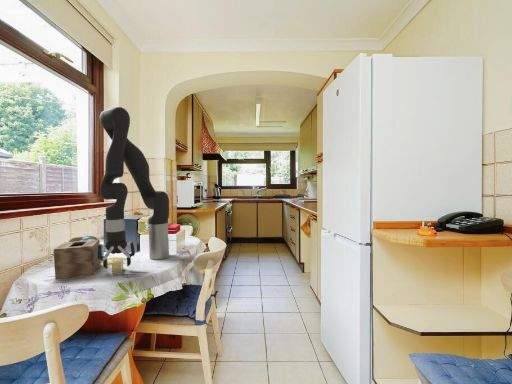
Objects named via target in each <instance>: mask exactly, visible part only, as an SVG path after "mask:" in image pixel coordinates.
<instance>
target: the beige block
mask: <svg viewBox="0 0 512 384" xmlns="http://www.w3.org/2000/svg"><path fill="white" fill-rule="evenodd" d="M123 270H124V257H119V258H113V259H112V262H111V275H112V274H115V275H122V274H123ZM121 273H122V274H121Z"/></svg>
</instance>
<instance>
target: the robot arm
mask: <svg viewBox="0 0 512 384" xmlns="http://www.w3.org/2000/svg"><path fill="white" fill-rule="evenodd" d="M99 121H100V124H101V126H102V128H103V130H104V131H105V133H106V134H107V135H108V136H109V138H110V139H111V143H110V145H109V147H108V150H107V152H106V156H105V166H104V167H105V169H104V175H103V177H102V181H101V184H100V187H99V194H100V196H101V198H102V199H103V200H110V201H111V200H116V201H115V202H114V204H110V205H107V206H106V207H105V229H104V230H105V240H106V241H105V242H106V243H105V244H102V243H100V244H99V245H98V259H101V260H102V266H103V268H104V269H105V270H107V269H108V267H109V264H108V259H107V258H108V257H109V256H110V254H112V255H115V254H121V253H122V254H123V255H125V257H126V266H127V267H129V266H130V265H131V263H132V259H131V257H134V256H135V255H136V250H135V249H136V248H135V241H132V240H131V241H129V242H127V237H126V233H127V232H126V222H125V206H126V201H127V197H128V194H129V191H128V187H127V185H126V184H125V183H123V182H114V181H115V180H116V179H118V178H122V177H123V176H124V173H125V172H124V169H125V166H126V168H127V170H128V172H129V174H130V175H131V177H132V179H133V181H134V183H135V184H136V187H137V189H138V191H139V193H140V196H141V200H143V201H142V202H143V203H144V205H145V207H146V208H148V209H149V210H152V211H153V212H152V213H153V214H152V215H151V216H150V217H149V218H148V219H147V223H148V224H147V225H148V248H149V250H148V251H149V259H150V260H161V259H162V260H163V259H167V258H168V259H169V258H170V245H169V244H170V242H169V240H170V239H169V223H168V222H169V218H170V217H169V216H170V199H169V195H168V194H167V193H166V192H165V191H161V190H160V191H159V190H155V188H154V187H153V184H152V183H151V179H150V165H149V163H148V161H147V158H146V156H145V154H144V153H143V151H142V150H141V149H140V148H139V147H138V146H136V145H135V144H134V143H133V142H132V141H130V139H128V134H129V131H130V130H129V129H130V125H131V124H130V123H131V116H130V114H129V112H128V111H127V109H125V108H124V107H121V106H117V107H112V108H110V109H109V108H108V109H105V110H103V111H101V113H100V115H99ZM124 165H125V166H124ZM127 246H128V247H129V248H130V251H131V252H129V251H128V250H127ZM105 248H106V250H107V252H106V253H105V254H104V256H102V250H103V251H104V249H105Z"/></svg>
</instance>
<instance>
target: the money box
mask: <svg viewBox="0 0 512 384" xmlns="http://www.w3.org/2000/svg"><path fill="white" fill-rule="evenodd" d="M99 244H101V243H100V239H98V240H86V241H74V242H69V241H64V242H63V243H61V244H60V245H58V246H56V247H55V248H54V249H53V260H54V261H53V263H54V279H65V278H74V277H83V276H90V275H92V276H93V275H95V274H96V273H97V271H98V270H99V268H100V267H101V260H100V259H98V245H99Z"/></svg>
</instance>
